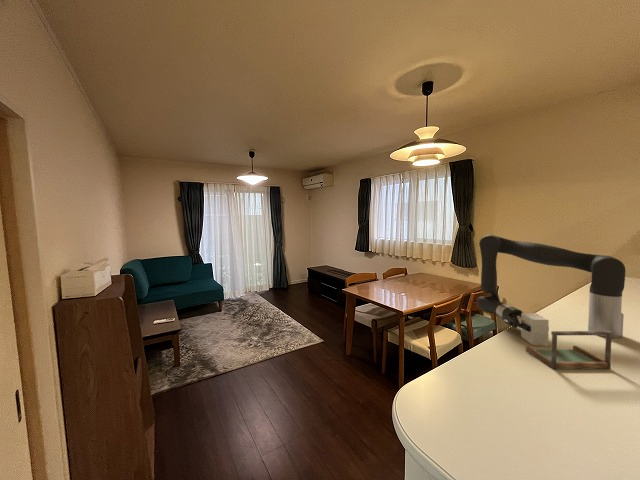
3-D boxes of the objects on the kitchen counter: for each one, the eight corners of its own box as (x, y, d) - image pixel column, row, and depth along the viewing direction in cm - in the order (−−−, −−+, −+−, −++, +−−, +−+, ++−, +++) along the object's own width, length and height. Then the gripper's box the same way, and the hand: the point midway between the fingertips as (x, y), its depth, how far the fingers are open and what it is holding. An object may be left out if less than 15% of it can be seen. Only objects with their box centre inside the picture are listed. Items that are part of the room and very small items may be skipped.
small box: (548, 346, 100) (549, 320, 99) (532, 345, 101) (532, 319, 100) (535, 337, 107) (536, 312, 107) (520, 336, 108) (521, 312, 108)
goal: (575, 351, 96) (577, 318, 95) (611, 369, 83) (612, 332, 83) (525, 351, 96) (526, 318, 96) (553, 369, 84) (554, 332, 84)
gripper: (493, 306, 118) (520, 320, 101) (526, 306, 117) (558, 319, 101) (493, 322, 118) (520, 338, 102) (525, 322, 118) (557, 338, 101)
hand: (538, 329), depth 101 cm, fingers closed on small box, 6 cm apart
